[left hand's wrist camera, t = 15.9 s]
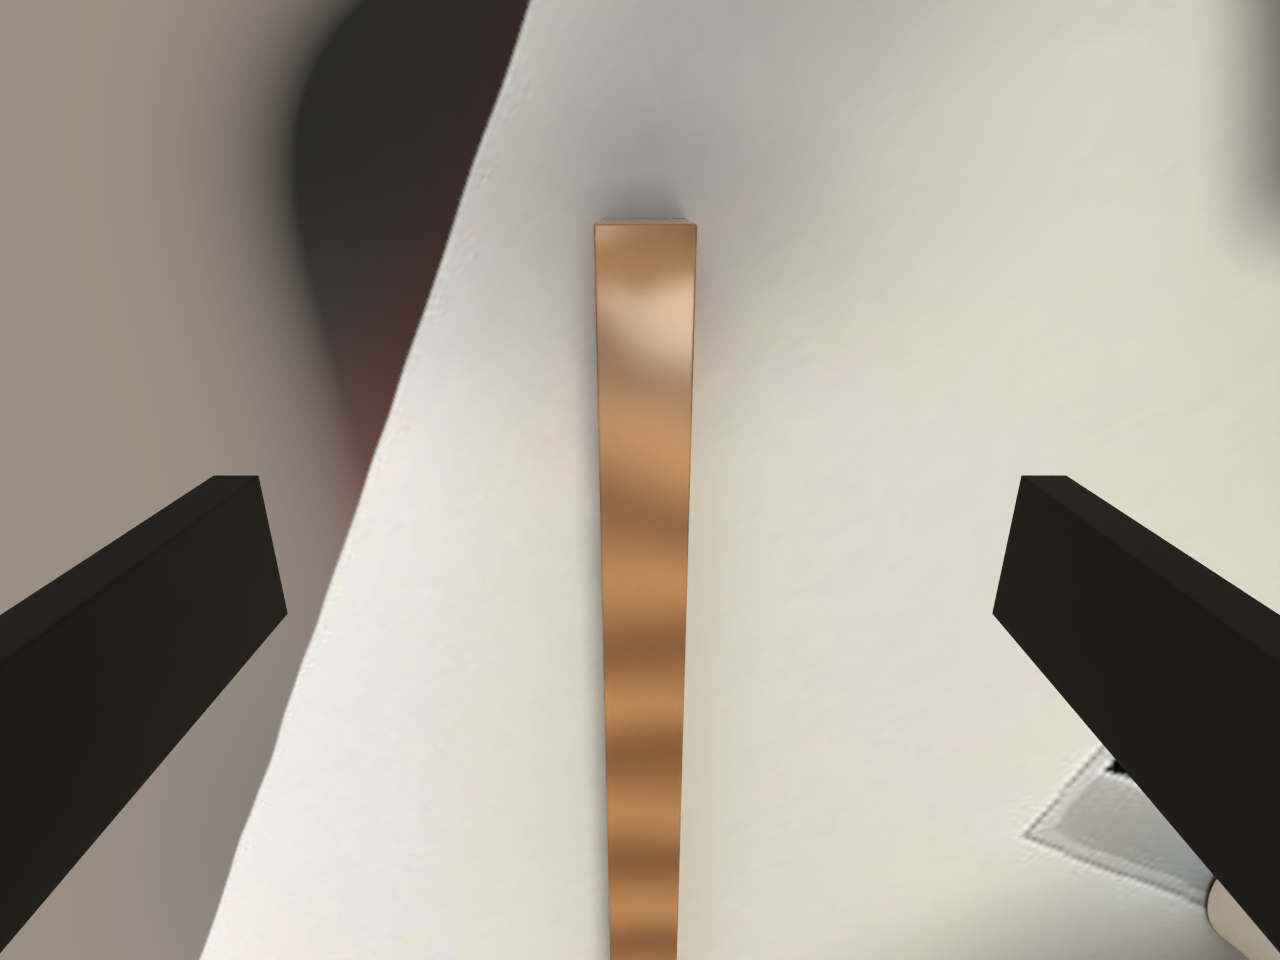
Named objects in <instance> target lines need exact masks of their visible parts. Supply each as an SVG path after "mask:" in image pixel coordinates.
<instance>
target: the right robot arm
mask: <svg viewBox="0 0 1280 960" xmlns="http://www.w3.org/2000/svg"><path fill="white" fill-rule="evenodd" d="M1207 910H1208V917H1209V920H1210V923H1211V925H1212V927H1213V928H1214V930H1215V931H1216V932H1217V933H1218V934H1219V935H1220V936H1221V937H1222V938H1224V939H1225V940H1226V941H1227V942H1229V943H1230V944H1231V945H1233V946H1234V947H1235V948H1236V949H1238V950H1239V951H1240V952H1241V953H1242V954H1243V955H1245V956H1246V957H1247V958H1248V959H1249V960H1280V953H1279V952H1278V950H1277V949H1276V948H1275V947H1274V946H1273V945H1272V943H1271V942H1270V941H1269V940H1268V939H1267V937H1266V936H1265V935H1264V934H1263V933H1262V932H1261V930H1260V929H1259V928H1258V927H1257V926H1256V924H1255V923H1254V922H1253V921H1252V920H1251V919H1250V917H1249V916H1248V915H1247V914H1246V913H1245V911H1244V910H1243V909H1242V908H1241V907H1240V906H1239V904H1238V903H1237V902H1236V901H1235V900H1234V898H1233V897H1232V896H1231V895H1230V894H1229V893H1228V891H1227V890H1226V889H1225V888H1224V887H1223V885H1222V884H1221V883H1220V882H1219V881H1218V880H1217V879H1216V881H1215V883H1214V885H1213V887H1212V889H1211V891H1210V894H1209V898H1208V904H1207Z"/></svg>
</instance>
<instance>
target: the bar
mask: <svg viewBox="0 0 1280 960" xmlns="http://www.w3.org/2000/svg"><path fill="white" fill-rule="evenodd" d="M696 242H697V225H696V224H694V223H692V222H690V221H689V220H687V219H603V220H601V221H599V222H598V223H596V224H594V255H595V299H596V343H597V387H598V431H599V476H600V520H601V564H602V608H603V652H604V696H605V741H606V785H607V829H608V873H609V917H610V960H677V928H678V892H679V856H680V820H681V784H682V748H683V712H684V675H685V639H686V603H687V567H688V531H689V495H690V459H691V423H692V387H693V351H694V315H695V278H696Z"/></svg>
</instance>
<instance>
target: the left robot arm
mask: <svg viewBox="0 0 1280 960" xmlns="http://www.w3.org/2000/svg"><path fill="white" fill-rule="evenodd" d="M992 614H993V615H994V616H995V617H996V618H997V620H998V621H999V622H1000V623H1001V624H1002V625H1003V627H1004V628H1005V629H1006V630H1007V631H1008V633H1009V634H1010V635H1011V636H1012V637H1013V638H1014V640H1015V641H1016V642H1017V643H1018V644H1019V646H1020V647H1021V648H1022V649H1023V650H1024V651H1025V653H1026V654H1027V655H1028V656H1029V657H1030V659H1031V660H1032V661H1033V662H1034V663H1035V664H1036V666H1037V667H1038V668H1039V669H1040V670H1041V672H1042V673H1043V674H1044V675H1045V676H1046V677H1047V679H1048V680H1049V681H1050V682H1051V683H1052V685H1053V686H1054V687H1055V688H1056V689H1057V690H1058V692H1059V693H1060V694H1061V695H1062V696H1063V698H1064V699H1065V700H1066V701H1067V702H1068V703H1069V705H1070V706H1071V707H1072V708H1073V709H1074V711H1075V712H1076V713H1077V714H1078V715H1079V716H1080V718H1081V719H1082V720H1083V721H1084V722H1085V724H1086V725H1087V726H1088V727H1089V728H1090V729H1091V731H1092V732H1093V733H1094V734H1095V735H1096V737H1097V738H1098V739H1099V740H1100V741H1101V742H1102V744H1103V745H1104V746H1105V747H1106V748H1107V750H1108V751H1109V752H1110V753H1111V754H1112V755H1113V757H1114V758H1115V759H1116V760H1117V761H1118V763H1119V764H1120V765H1121V766H1122V767H1123V768H1124V770H1125V771H1126V772H1127V773H1128V774H1129V776H1130V777H1131V778H1132V779H1133V780H1134V781H1135V783H1136V784H1137V785H1138V786H1139V787H1140V789H1141V790H1142V791H1143V792H1144V793H1145V794H1146V796H1147V797H1148V798H1149V799H1150V800H1151V802H1152V803H1153V804H1154V805H1155V806H1156V807H1157V809H1158V810H1159V811H1160V812H1161V813H1162V815H1163V816H1164V817H1165V818H1166V819H1167V820H1168V822H1169V823H1170V824H1171V825H1172V826H1173V828H1174V829H1175V830H1176V831H1177V832H1178V833H1179V835H1180V836H1181V837H1182V838H1183V839H1184V841H1185V842H1186V843H1187V844H1188V845H1189V846H1190V848H1191V849H1192V850H1193V851H1194V852H1195V854H1196V855H1197V856H1198V857H1199V858H1200V859H1201V861H1202V862H1203V863H1204V864H1205V865H1206V867H1207V868H1208V869H1209V870H1210V871H1211V872H1212V874H1213V875H1214V876H1215V877H1216V878H1217V880H1218V881H1219V882H1220V883H1221V884H1222V885H1223V887H1224V888H1225V889H1226V890H1227V891H1228V893H1229V894H1230V895H1231V896H1232V897H1233V898H1234V900H1235V901H1236V902H1237V903H1238V904H1239V906H1240V907H1241V908H1242V909H1243V910H1244V911H1245V913H1246V914H1247V915H1248V916H1249V917H1250V919H1251V920H1252V921H1253V922H1254V923H1255V924H1256V926H1257V927H1258V928H1259V929H1260V930H1261V932H1262V933H1263V934H1264V935H1265V936H1266V937H1267V939H1268V940H1269V941H1270V942H1271V943H1272V945H1273V946H1274V947H1275V948H1276V949H1277V950H1278V952H1279V953H1280V615H1279V614H1277V613H1276V612H1274V611H1273V610H1271V609H1269V608H1268V607H1266V606H1265V605H1263V604H1262V603H1260V602H1259V601H1257V600H1256V599H1254V598H1253V597H1251V596H1250V595H1248V594H1247V593H1245V592H1243V591H1242V590H1240V589H1239V588H1237V587H1236V586H1234V585H1233V584H1231V583H1230V582H1228V581H1227V580H1225V579H1224V578H1222V577H1221V576H1219V575H1217V574H1216V573H1214V572H1213V571H1211V570H1210V569H1208V568H1207V567H1205V566H1204V565H1202V564H1201V563H1199V562H1198V561H1196V560H1195V559H1193V558H1191V557H1190V556H1188V555H1187V554H1185V553H1184V552H1182V551H1181V550H1179V549H1178V548H1176V547H1175V546H1173V545H1172V544H1170V543H1168V542H1167V541H1165V540H1164V539H1162V538H1161V537H1159V536H1158V535H1156V534H1155V533H1153V532H1152V531H1150V530H1149V529H1147V528H1146V527H1144V526H1142V525H1141V524H1139V523H1138V522H1136V521H1135V520H1133V519H1132V518H1130V517H1129V516H1127V515H1126V514H1124V513H1123V512H1121V511H1120V510H1118V509H1116V508H1115V507H1113V506H1112V505H1110V504H1109V503H1107V502H1106V501H1104V500H1103V499H1101V498H1100V497H1098V496H1097V495H1095V494H1094V493H1092V492H1090V491H1089V490H1087V489H1086V488H1084V487H1083V486H1081V485H1080V484H1078V483H1077V482H1075V481H1074V480H1072V479H1071V478H1069V477H1068V476H1021V481H1020V486H1019V490H1018V495H1017V500H1016V504H1015V509H1014V514H1013V519H1012V523H1011V528H1010V533H1009V538H1008V542H1007V547H1006V552H1005V556H1004V561H1003V566H1002V571H1001V575H1000V580H999V585H998V590H997V594H996V599H995V604H994V608H993V613H992ZM286 615H287V608H286V604H285V599H284V594H283V590H282V585H281V580H280V575H279V571H278V566H277V561H276V556H275V552H274V547H273V542H272V538H271V533H270V528H269V523H268V519H267V514H266V509H265V504H264V500H263V495H262V490H261V486H260V481H259V476H212V477H211V478H209V479H208V480H206V481H205V482H203V483H202V484H200V485H199V486H197V487H196V488H194V489H193V490H191V491H190V492H188V493H186V494H185V495H184V496H182V497H180V498H179V499H177V500H176V501H174V502H173V503H171V504H170V505H168V506H167V507H165V508H164V509H162V510H160V511H159V512H157V513H156V514H154V515H153V516H151V517H150V518H148V519H147V520H145V521H144V522H142V523H141V524H139V525H138V526H136V527H134V528H133V529H131V530H130V531H128V532H127V533H125V534H124V535H122V536H121V537H119V538H118V539H116V540H115V541H113V542H112V543H110V544H108V545H107V546H105V547H104V548H102V549H101V550H99V551H98V552H96V553H95V554H93V555H92V556H90V557H89V558H87V559H86V560H84V561H82V562H81V563H79V564H78V565H76V566H75V567H73V568H72V569H70V570H69V571H67V572H66V573H64V574H63V575H61V576H59V577H58V578H56V579H55V580H53V581H52V582H50V583H49V584H47V585H46V586H44V587H43V588H41V589H40V590H38V591H37V592H35V593H34V594H32V595H30V596H29V597H27V598H26V599H24V600H23V601H21V602H20V603H18V604H17V605H15V606H14V607H12V608H11V609H9V610H7V611H6V612H4V613H3V614H1V615H0V953H1V952H2V950H3V949H4V948H5V947H6V946H7V944H8V943H9V942H10V941H11V940H12V939H13V937H14V936H15V935H16V934H17V933H18V931H19V930H20V929H21V928H22V927H23V926H24V924H25V923H26V922H27V921H28V920H29V919H30V917H31V916H32V915H33V914H34V913H35V911H36V910H37V909H38V908H39V907H40V905H41V904H42V903H43V902H44V901H45V900H46V898H47V897H48V896H49V895H50V894H51V893H52V891H53V890H54V889H55V888H56V887H57V885H58V884H59V883H60V882H61V881H62V880H63V878H64V877H65V876H66V875H67V874H68V872H69V871H70V870H71V869H72V868H73V867H74V865H75V864H76V863H77V862H78V861H79V859H80V858H81V857H82V856H83V855H84V854H85V852H86V851H87V850H88V849H89V848H90V846H91V845H92V844H93V843H94V842H95V841H96V839H97V838H98V837H99V836H100V835H101V833H102V832H103V831H104V830H105V829H106V827H107V826H108V825H109V824H110V823H111V822H112V820H113V819H114V818H115V817H116V816H117V814H118V813H119V812H120V811H121V810H122V809H123V807H124V806H125V805H126V804H127V803H128V802H129V800H130V799H131V798H132V797H133V796H134V794H135V793H136V792H137V791H138V790H139V789H140V787H141V786H142V785H143V784H144V783H145V781H146V780H147V779H148V778H149V777H150V776H151V774H152V773H153V772H154V771H155V770H156V768H157V767H158V766H159V765H160V764H161V763H162V761H163V760H164V759H165V758H166V757H167V755H168V754H169V753H170V752H171V751H172V750H173V748H174V747H175V746H176V745H177V744H178V742H179V741H180V740H181V739H182V738H183V737H184V735H185V734H186V733H187V732H188V731H189V729H190V728H191V727H192V726H193V725H194V723H195V722H196V721H197V720H198V719H199V718H200V716H201V715H202V714H203V713H204V712H205V711H206V709H207V708H208V707H209V706H210V705H211V703H212V702H213V701H214V700H215V699H216V698H217V696H218V695H219V694H220V693H221V692H222V690H223V689H224V688H225V687H226V686H227V685H228V683H229V682H230V681H231V680H232V679H233V677H234V676H235V675H236V674H237V673H238V672H239V670H240V669H241V668H242V667H243V666H244V664H245V663H246V662H247V661H248V660H249V659H250V657H251V656H252V655H253V654H254V653H255V651H256V650H257V649H258V648H259V647H260V646H261V644H262V643H263V642H264V641H265V640H266V638H267V637H268V636H269V635H270V634H271V633H272V631H273V630H274V629H275V628H276V627H277V625H278V624H279V623H280V622H281V621H282V620H283V618H284V617H285V616H286Z"/></svg>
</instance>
